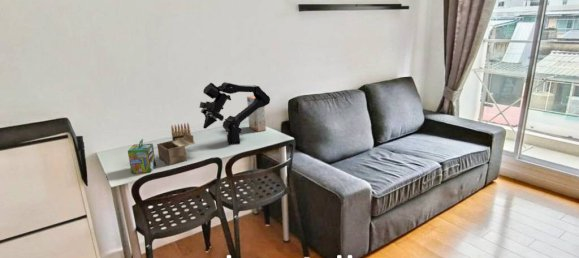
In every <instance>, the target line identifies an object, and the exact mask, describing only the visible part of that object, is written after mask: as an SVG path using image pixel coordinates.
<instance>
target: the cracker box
mask: <svg viewBox="0 0 579 258" xmlns="http://www.w3.org/2000/svg"><path fill="white" fill-rule="evenodd" d="M246 99H247V100H246V102H247V107H248V106H249V105H250V104H252V103H253V101H254V99H255V97H254V94H253V95H247V96H246ZM265 107H266V106H264V107H261V108H258V109H257V110H256V111H254V112H253V113H252V114H251V115H249V116H248V117H247V118H248V127H249V128H250V129H253V130H254V131H256V132H258V133H259V132H265V131H266V129H267V127H266V109H265Z"/></svg>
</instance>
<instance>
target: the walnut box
mask: <svg viewBox="0 0 579 258" xmlns="http://www.w3.org/2000/svg"><path fill="white" fill-rule="evenodd" d="M172 141H175V140H169V141H165V142H160V143H156V145H157V153H158V158H159V160H160V161H161V162H164V164H166V165H168V166H169V167H170V166H173V165H176V164H181V163H183V162H187V154H186V146H184V145H183V146H179V147H178V146H176V145H175V144H173V143H172Z"/></svg>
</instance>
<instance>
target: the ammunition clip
mask: <svg viewBox="0 0 579 258" xmlns="http://www.w3.org/2000/svg"><path fill="white" fill-rule="evenodd" d="M170 127H171V139H172V140H175V141H176V140H180V139H184V134H183V133H185V132H186V133H188V134H190V135H192V132H191V127H190V124H189V122H187V123H186V122H184V123H181V124H179V123H178V124H177V125H176V124H174V125H173V124H172V125H171V126H170ZM172 140H171V141H172Z"/></svg>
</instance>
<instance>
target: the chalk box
mask: <svg viewBox="0 0 579 258" xmlns="http://www.w3.org/2000/svg"><path fill="white" fill-rule="evenodd" d="M143 142H144V139H143V138H142V139H140V140H139V143H136V144H133V145H132V146H131V147H130V148H128V150H127V155H128V160H129V165H130V167H129V168H130V172H131V174H144V173H151V172H152V171H153V170H154V169H155V167H156V166H157V163H156V157H155V148H154V144H153V143H143Z"/></svg>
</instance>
